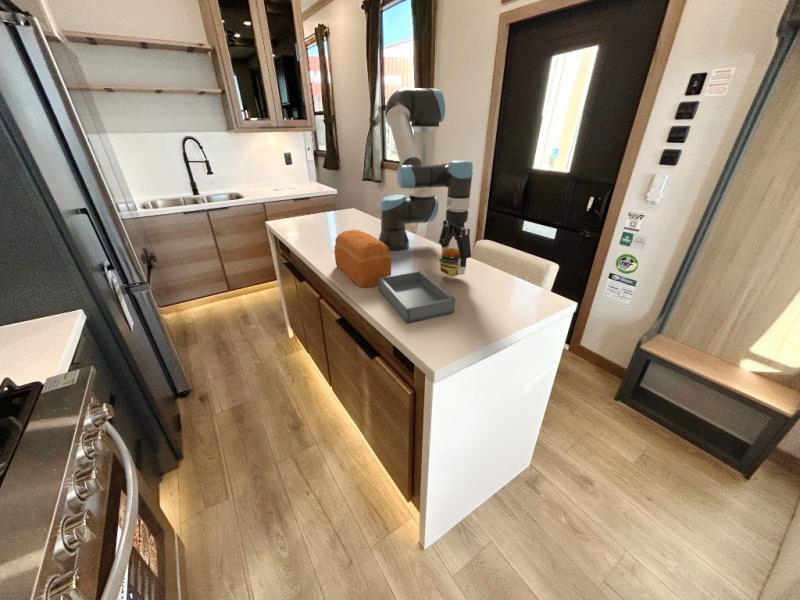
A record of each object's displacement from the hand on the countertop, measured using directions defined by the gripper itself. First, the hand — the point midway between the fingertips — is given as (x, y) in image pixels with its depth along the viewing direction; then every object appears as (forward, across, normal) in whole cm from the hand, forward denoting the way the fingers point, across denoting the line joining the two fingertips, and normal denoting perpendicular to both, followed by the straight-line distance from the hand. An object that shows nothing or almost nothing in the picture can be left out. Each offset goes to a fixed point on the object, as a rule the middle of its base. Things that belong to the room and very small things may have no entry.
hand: (452, 268), depth 120 cm
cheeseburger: (+1, 0, 0) cm, 1 cm away
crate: (+4, +11, -21) cm, 24 cm away
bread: (+4, -18, -30) cm, 35 cm away
